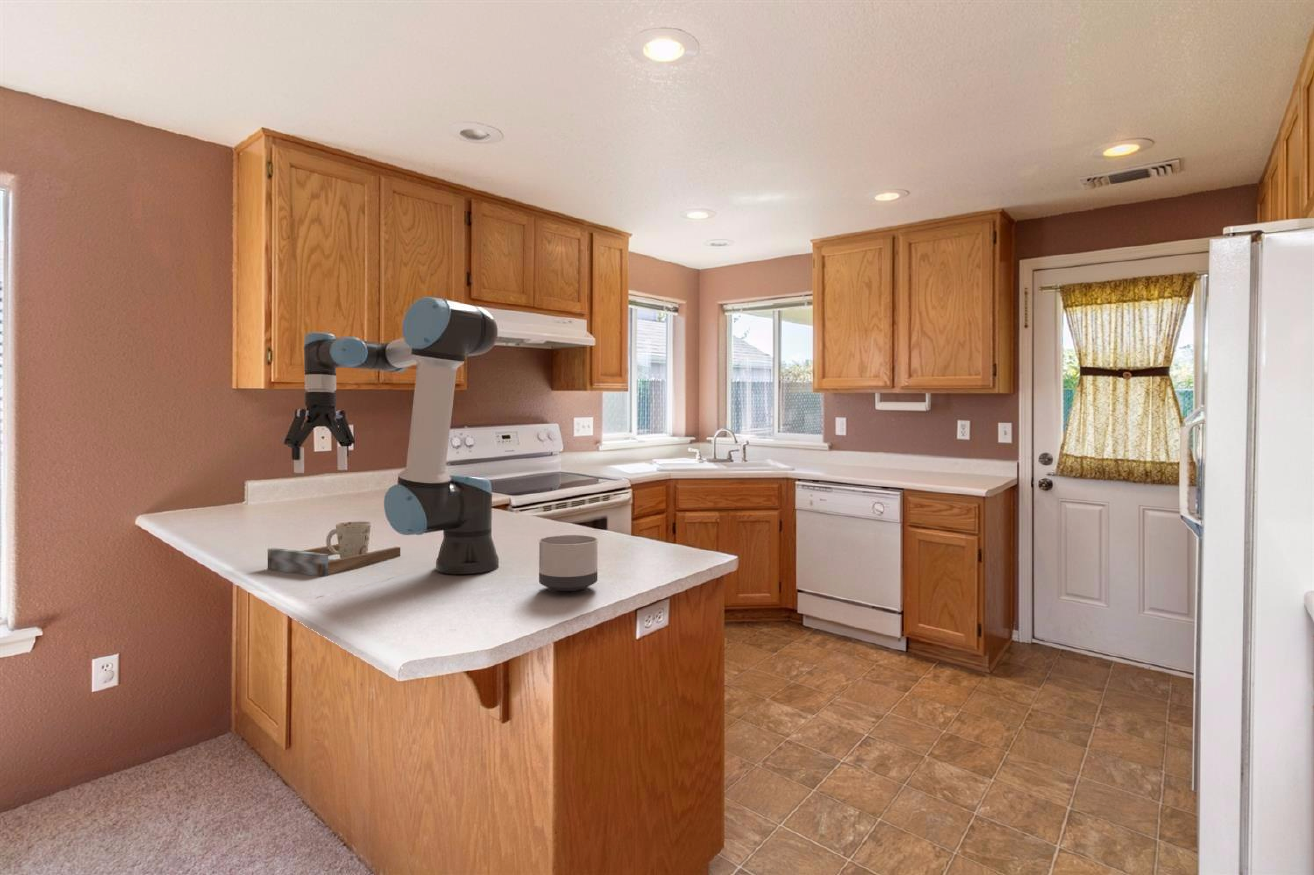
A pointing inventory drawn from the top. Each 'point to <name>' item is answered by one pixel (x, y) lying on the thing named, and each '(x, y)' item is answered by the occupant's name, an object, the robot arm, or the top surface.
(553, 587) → the planter
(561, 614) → the top surface
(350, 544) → the mug
